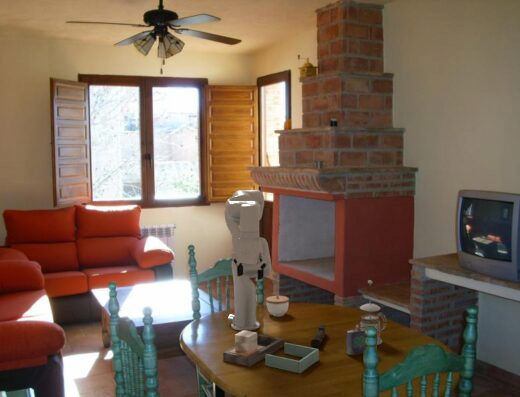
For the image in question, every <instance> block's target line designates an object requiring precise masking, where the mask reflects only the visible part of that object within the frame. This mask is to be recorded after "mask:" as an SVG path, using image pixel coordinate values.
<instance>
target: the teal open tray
mask: <svg viewBox="0 0 520 397" xmlns="http://www.w3.org/2000/svg"><path fill="white" fill-rule="evenodd" d="M283 347H284V348H283V349H284V352H283V353H284V354H287V355H290V356H295V357H300V358H301V359H300V360H295V359H292V358H287V357H282V356H277V355H273V354H270V355H269V354H265V358H264V359H265V360H264V364H265V366H267V367H271V368H276V369H279V370H284V371H288V372H293V373H298V374H301V373H303V372H304V371H305V370H307V369H308V368H310V367H311V366H313V365H314V364H315V363H316V362H318V361H319V360H320V350H319V349H320V348H312V347H311V346H310V347H309V346H304V345H300V344H296V343H295V344H294V343H289V342H284V346H283Z"/></svg>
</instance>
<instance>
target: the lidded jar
mask: <svg viewBox="0 0 520 397" xmlns="http://www.w3.org/2000/svg"><path fill="white" fill-rule="evenodd" d="M265 301H266V309H267V310H268V313H270V315H271V316H272V315H273V316H272V317H283V316H284V315H285V314H286V313H287V312H288V309H289V302H290V299H289V297H288V296H285V295H279V294H277V295H272V296H267V297H266V298H265Z"/></svg>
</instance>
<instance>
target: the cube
mask: <svg viewBox="0 0 520 397" xmlns="http://www.w3.org/2000/svg"><path fill="white" fill-rule="evenodd" d="M257 334H258V332H255V331H252V330H250V331H246V330H243V331H239V332H238V333H236V334H234V346H235V350H236V351H240V352H245V353H250V352H252V351H253V350H255V349H257Z"/></svg>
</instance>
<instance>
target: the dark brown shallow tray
mask: <svg viewBox="0 0 520 397" xmlns="http://www.w3.org/2000/svg"><path fill="white" fill-rule="evenodd" d="M284 341H285V339H284V338H280V337H275V336H270V335H266V334H265V335H264V334H260V333H257V349H255V350H253V351H252V352H250V353H245V352H240V351H236V350H235V345H234V346H233V347H231V348H229V349H227V350H225V351H223V352H222V356H223V358H222V360H223V361H225V362H228V363H229V362H230V363H232V364H233V363H234V364H238V365H243V366H246V367H247V366H248V367H252V366H254V365H255V364H257V363H259V362H261V361H262V360H264V359H265V354H269V355H273V354H274V353H275V352H277V351H278V350H280V349H282V348H283V347H284V343H285V342H284Z"/></svg>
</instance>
